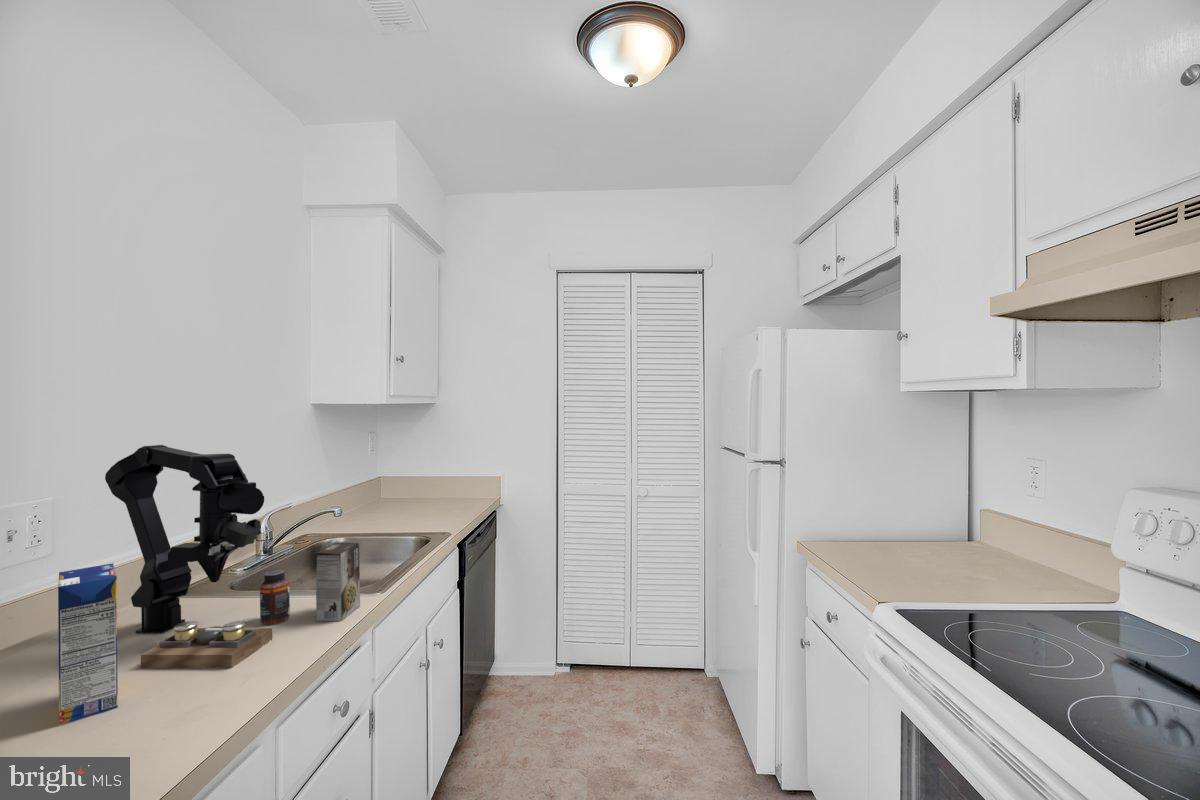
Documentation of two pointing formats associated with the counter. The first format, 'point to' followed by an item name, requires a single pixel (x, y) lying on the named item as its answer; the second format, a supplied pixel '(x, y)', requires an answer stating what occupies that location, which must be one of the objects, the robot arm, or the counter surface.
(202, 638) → the dial
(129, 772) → the counter surface
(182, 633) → the knob left
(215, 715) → the counter surface
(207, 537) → the robot arm
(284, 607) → the supplement bottle
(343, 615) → the coffee box
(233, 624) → the knob right
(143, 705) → the counter surface
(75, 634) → the beverage box
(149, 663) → the mount
